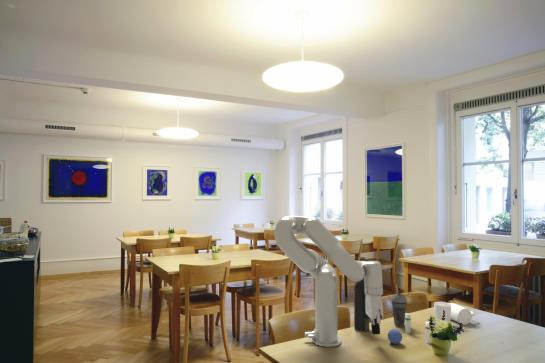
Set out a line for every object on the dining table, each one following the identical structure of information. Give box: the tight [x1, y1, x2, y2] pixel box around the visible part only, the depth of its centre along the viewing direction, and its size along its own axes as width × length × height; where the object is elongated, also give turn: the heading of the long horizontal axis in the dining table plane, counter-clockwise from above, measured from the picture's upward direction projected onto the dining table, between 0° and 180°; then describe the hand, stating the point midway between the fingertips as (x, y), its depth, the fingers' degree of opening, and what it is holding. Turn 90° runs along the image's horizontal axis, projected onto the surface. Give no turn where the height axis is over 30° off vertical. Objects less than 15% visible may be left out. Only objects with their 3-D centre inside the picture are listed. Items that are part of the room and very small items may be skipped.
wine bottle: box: [353, 278, 370, 333], centre depth 181 cm, size 6×6×30 cm
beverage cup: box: [391, 283, 408, 328], centre depth 186 cm, size 7×7×20 cm
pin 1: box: [404, 312, 412, 335], centre depth 176 cm, size 2×2×9 cm
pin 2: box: [424, 321, 432, 345], centre depth 164 cm, size 2×2×9 cm
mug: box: [449, 302, 476, 326], centre depth 192 cm, size 12×10×8 cm
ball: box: [387, 328, 403, 345], centre depth 163 cm, size 6×6×6 cm
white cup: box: [433, 301, 452, 323], centre depth 187 cm, size 8×8×10 cm
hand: (375, 333), depth 162 cm, fingers closed
